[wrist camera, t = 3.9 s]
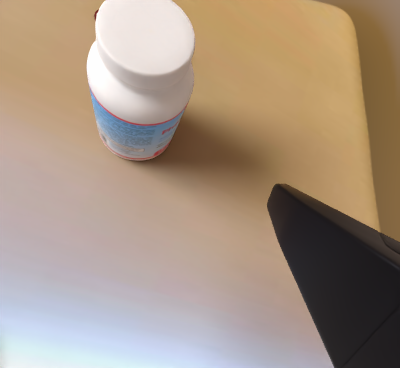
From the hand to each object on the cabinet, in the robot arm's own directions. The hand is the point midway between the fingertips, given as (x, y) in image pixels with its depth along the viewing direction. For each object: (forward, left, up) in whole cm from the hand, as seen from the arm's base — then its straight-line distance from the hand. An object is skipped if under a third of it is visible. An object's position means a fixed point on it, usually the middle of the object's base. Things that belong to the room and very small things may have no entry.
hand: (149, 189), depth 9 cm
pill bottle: (+3, -7, -14) cm, 16 cm away
